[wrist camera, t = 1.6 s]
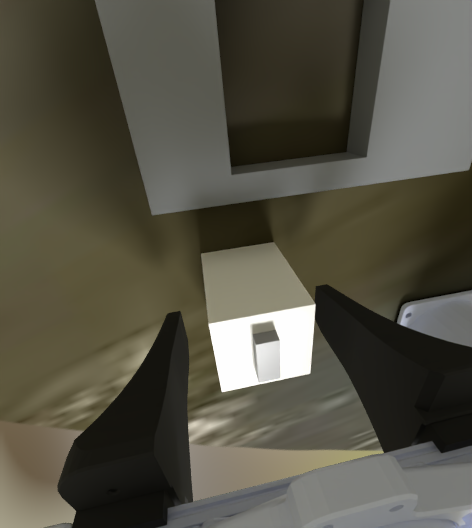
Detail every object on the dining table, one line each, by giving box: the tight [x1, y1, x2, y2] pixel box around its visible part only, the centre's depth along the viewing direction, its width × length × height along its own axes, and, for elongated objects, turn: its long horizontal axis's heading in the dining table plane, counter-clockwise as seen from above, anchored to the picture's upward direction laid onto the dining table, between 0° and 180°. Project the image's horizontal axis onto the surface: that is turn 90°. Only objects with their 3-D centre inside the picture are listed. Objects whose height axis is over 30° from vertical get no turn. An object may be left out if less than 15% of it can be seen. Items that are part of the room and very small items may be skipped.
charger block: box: [201, 242, 316, 392], centre depth 14 cm, size 4×4×7 cm
